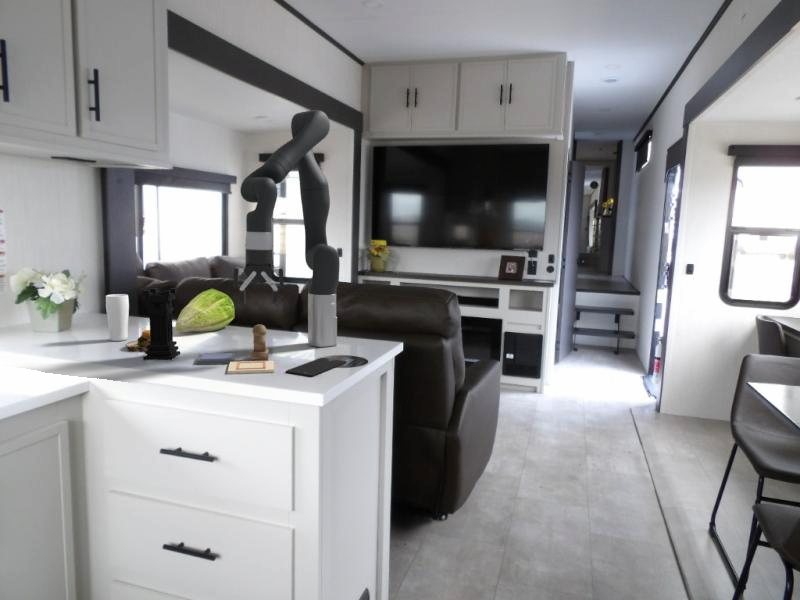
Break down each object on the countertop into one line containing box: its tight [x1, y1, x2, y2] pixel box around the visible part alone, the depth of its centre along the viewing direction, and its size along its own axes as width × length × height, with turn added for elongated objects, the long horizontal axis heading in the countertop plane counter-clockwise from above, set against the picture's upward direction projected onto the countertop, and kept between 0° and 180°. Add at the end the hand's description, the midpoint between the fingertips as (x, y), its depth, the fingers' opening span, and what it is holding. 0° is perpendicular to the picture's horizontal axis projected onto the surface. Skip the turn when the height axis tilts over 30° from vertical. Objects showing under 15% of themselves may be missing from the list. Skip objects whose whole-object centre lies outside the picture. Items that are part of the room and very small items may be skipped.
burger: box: [124, 329, 150, 353], centre depth 174 cm, size 12×12×8 cm
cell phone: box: [285, 357, 347, 378], centre depth 156 cm, size 9×18×1 cm, turn 155°
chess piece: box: [142, 287, 181, 361], centre depth 162 cm, size 8×8×20 cm
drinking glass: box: [105, 293, 130, 342], centre depth 183 cm, size 7×7×15 cm
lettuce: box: [175, 288, 236, 333], centre depth 204 cm, size 15×24×16 cm
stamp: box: [250, 323, 269, 361], centre depth 163 cm, size 5×5×10 cm
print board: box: [227, 360, 275, 375], centre depth 153 cm, size 12×10×1 cm
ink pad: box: [196, 352, 237, 366], centre depth 160 cm, size 10×8×1 cm
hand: (258, 303), depth 162 cm, fingers open, 8 cm apart
